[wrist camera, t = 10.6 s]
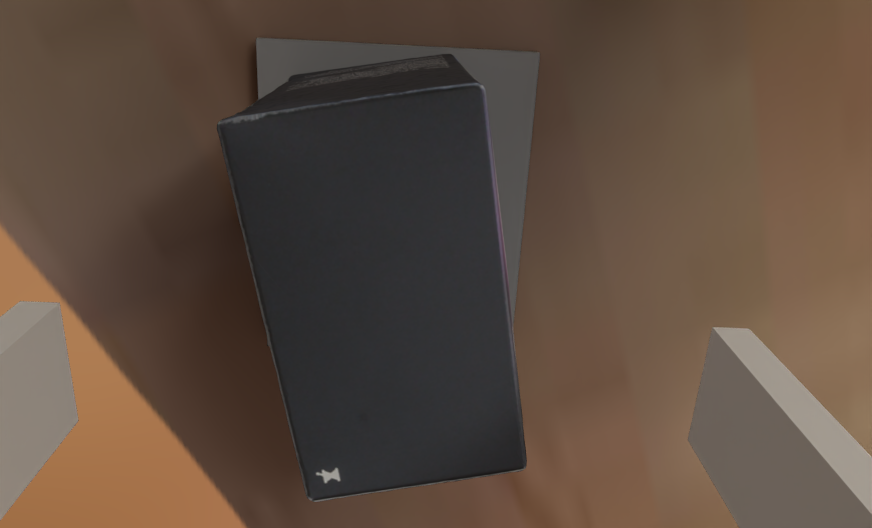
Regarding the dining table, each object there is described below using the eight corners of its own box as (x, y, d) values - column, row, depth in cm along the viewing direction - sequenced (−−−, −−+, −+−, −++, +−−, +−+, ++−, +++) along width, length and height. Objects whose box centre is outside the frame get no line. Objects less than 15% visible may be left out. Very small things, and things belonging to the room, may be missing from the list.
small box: (496, 316, 29) (539, 481, 19) (337, 338, 29) (299, 514, 19) (463, 47, 25) (497, 78, 15) (282, 73, 25) (198, 122, 15)
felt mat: (537, 51, 26) (540, 52, 25) (508, 346, 30) (510, 353, 29) (259, 37, 25) (256, 38, 25) (270, 339, 29) (267, 345, 29)
